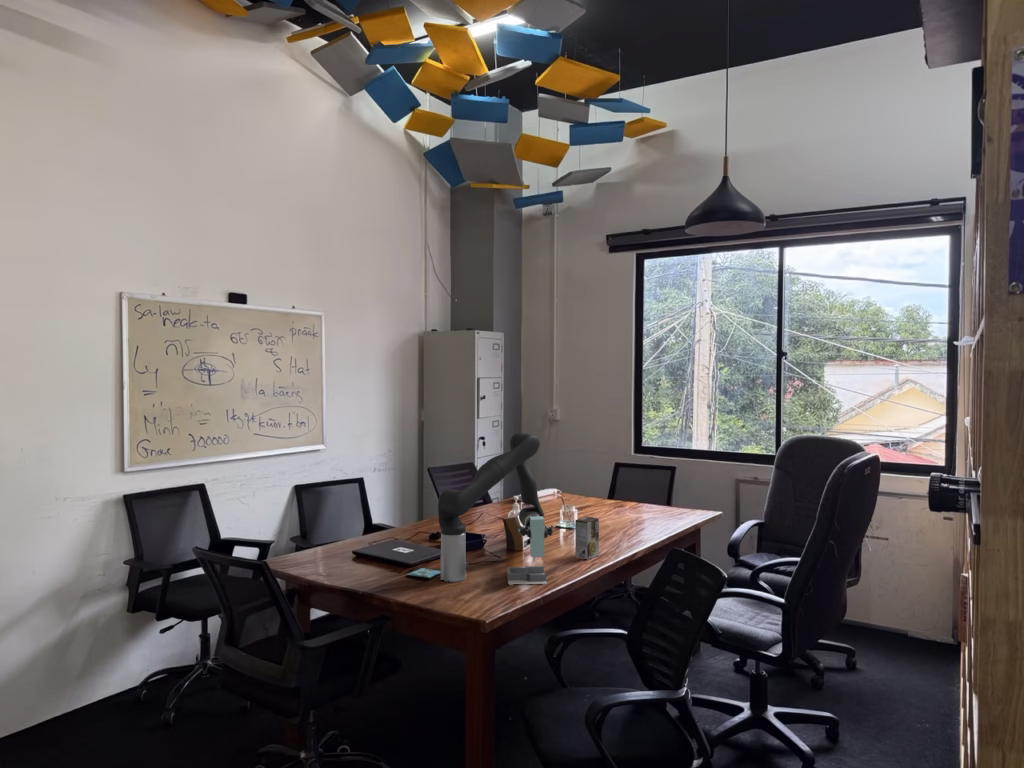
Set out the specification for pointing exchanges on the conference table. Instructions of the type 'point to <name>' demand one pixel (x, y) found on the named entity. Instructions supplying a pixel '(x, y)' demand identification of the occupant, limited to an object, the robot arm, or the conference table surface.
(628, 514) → the conference table surface
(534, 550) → the teal post
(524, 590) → the conference table surface
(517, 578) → the keyhole guide
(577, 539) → the coffee box
